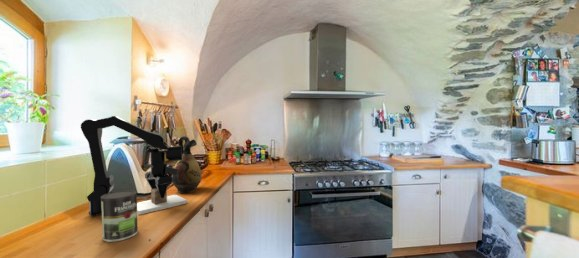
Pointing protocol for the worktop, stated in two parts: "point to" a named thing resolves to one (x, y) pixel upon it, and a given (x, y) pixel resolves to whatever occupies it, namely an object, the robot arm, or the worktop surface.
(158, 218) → the worktop surface
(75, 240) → the worktop surface
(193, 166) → the ceramic jug
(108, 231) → the coffee can
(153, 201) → the walnut block
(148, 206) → the chopping board
